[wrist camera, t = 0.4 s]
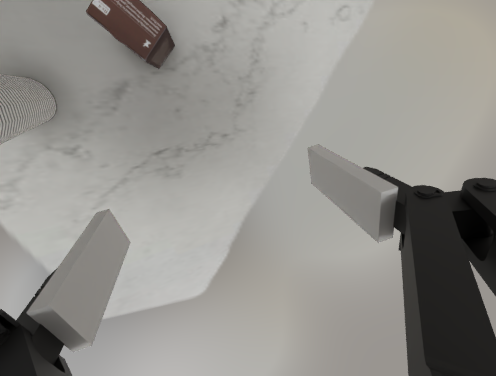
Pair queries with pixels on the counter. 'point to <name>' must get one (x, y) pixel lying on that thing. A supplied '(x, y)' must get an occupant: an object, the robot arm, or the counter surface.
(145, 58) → the box
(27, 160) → the counter surface
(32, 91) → the cup
